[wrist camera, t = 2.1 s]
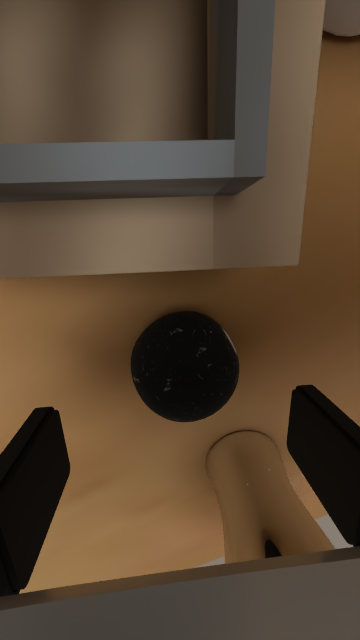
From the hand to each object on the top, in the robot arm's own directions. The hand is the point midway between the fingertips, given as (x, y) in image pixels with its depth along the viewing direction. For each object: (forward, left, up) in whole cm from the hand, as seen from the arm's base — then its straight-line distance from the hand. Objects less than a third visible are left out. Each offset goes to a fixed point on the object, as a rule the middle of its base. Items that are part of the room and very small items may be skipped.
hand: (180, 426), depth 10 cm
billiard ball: (-1, 0, -8) cm, 8 cm away
